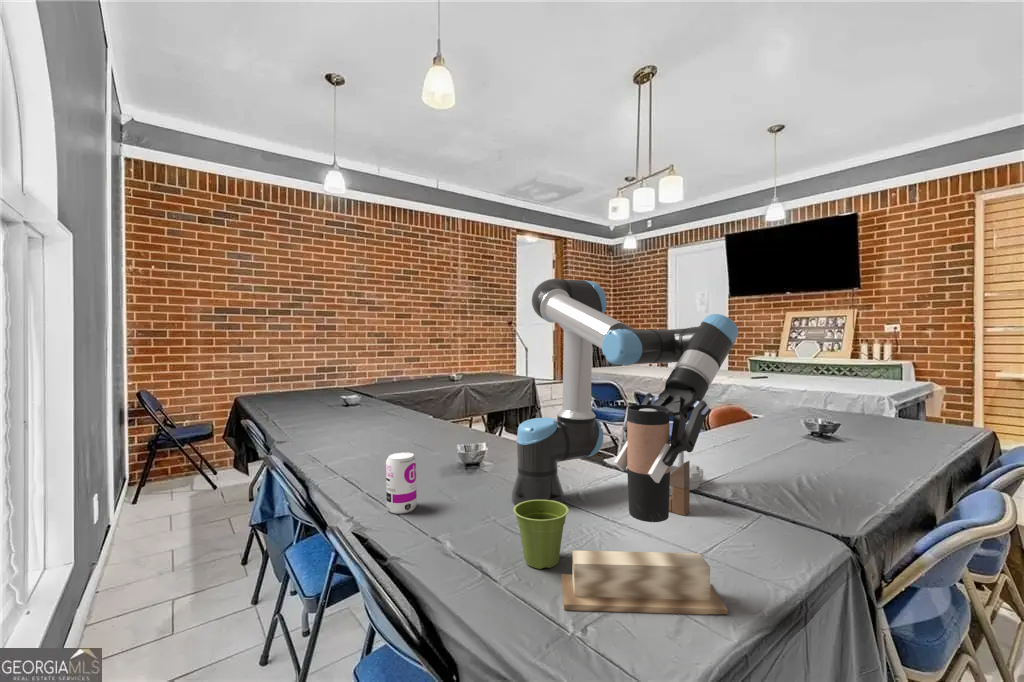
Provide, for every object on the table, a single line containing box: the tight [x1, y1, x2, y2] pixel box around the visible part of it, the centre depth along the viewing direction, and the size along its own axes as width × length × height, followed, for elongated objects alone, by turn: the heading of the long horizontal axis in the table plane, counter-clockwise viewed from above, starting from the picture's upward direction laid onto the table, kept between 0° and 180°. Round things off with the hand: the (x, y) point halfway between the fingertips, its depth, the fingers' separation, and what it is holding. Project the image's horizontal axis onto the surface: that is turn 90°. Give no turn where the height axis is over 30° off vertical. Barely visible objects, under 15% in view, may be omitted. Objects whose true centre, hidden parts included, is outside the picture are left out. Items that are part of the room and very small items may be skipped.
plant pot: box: [512, 500, 570, 570], centre depth 96 cm, size 12×12×11 cm
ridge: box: [561, 549, 728, 616], centre depth 83 cm, size 28×10×7 cm, turn 86°
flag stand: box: [670, 451, 704, 491], centre depth 144 cm, size 13×13×30 cm
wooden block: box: [669, 460, 691, 516], centre depth 124 cm, size 4×11×18 cm, turn 47°
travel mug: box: [626, 404, 671, 523], centre depth 84 cm, size 8×8×20 cm
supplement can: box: [385, 451, 418, 515], centre depth 126 cm, size 8×8×15 cm
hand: (635, 472), depth 82 cm, fingers closed on travel mug, 7 cm apart
